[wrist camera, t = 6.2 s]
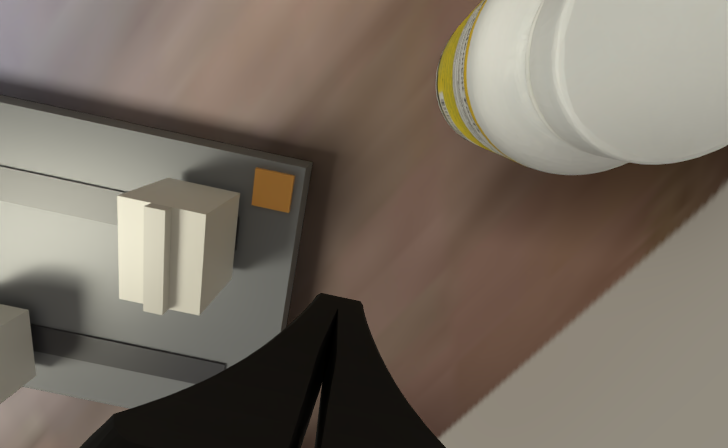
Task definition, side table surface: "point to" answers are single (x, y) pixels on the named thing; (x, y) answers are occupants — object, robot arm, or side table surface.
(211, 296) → the block
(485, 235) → the side table surface
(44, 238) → the panel
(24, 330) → the cream slider knob
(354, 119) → the side table surface
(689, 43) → the supplement bottle
